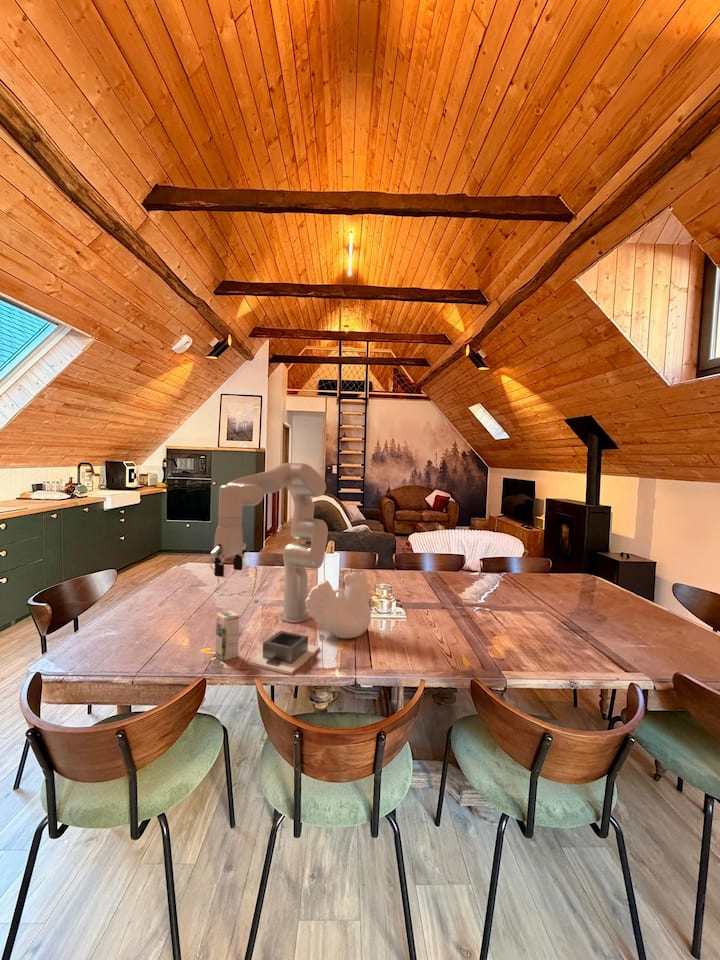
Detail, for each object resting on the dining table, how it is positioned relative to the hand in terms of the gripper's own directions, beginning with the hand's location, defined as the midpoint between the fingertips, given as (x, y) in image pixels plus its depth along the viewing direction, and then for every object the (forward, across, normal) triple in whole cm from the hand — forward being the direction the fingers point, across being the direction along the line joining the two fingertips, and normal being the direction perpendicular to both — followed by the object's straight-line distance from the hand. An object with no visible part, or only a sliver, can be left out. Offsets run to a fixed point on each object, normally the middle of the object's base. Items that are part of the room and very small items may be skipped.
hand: (228, 572), depth 147 cm
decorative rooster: (+28, -34, +26) cm, 51 cm away
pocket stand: (+28, -8, +18) cm, 35 cm away
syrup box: (+29, 0, 0) cm, 29 cm away
